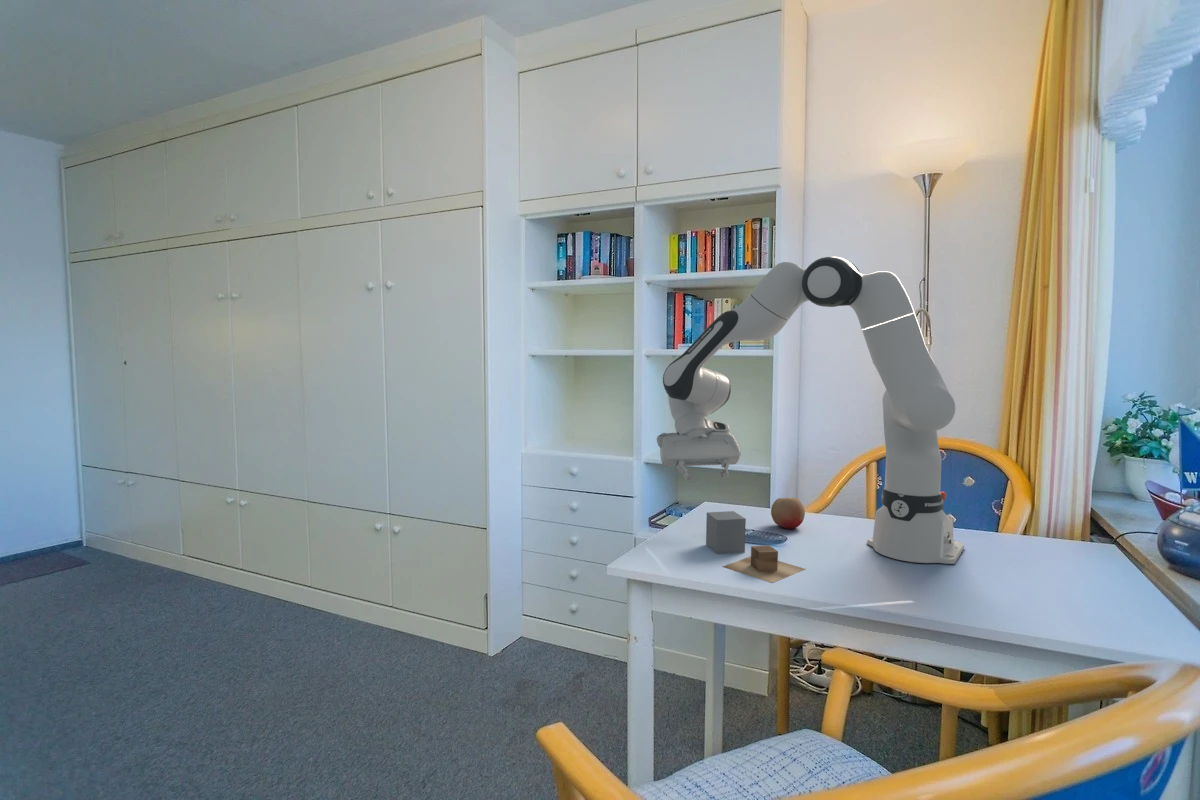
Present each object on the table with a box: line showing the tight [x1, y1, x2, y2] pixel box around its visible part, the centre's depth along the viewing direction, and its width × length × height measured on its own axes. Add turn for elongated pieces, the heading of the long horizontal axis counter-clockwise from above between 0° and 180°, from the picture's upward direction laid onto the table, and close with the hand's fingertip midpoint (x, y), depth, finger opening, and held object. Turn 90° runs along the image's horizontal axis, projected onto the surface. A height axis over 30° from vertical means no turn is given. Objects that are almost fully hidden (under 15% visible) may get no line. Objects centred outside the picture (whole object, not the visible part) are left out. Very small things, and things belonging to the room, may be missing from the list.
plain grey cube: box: [705, 510, 747, 555], centre depth 141 cm, size 7×7×8 cm
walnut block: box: [750, 544, 779, 572], centre depth 128 cm, size 4×4×4 cm
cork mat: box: [722, 555, 806, 584], centre depth 129 cm, size 12×12×1 cm
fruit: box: [770, 497, 806, 530], centre depth 159 cm, size 8×8×8 cm
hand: (707, 477), depth 152 cm, fingers open, 8 cm apart
